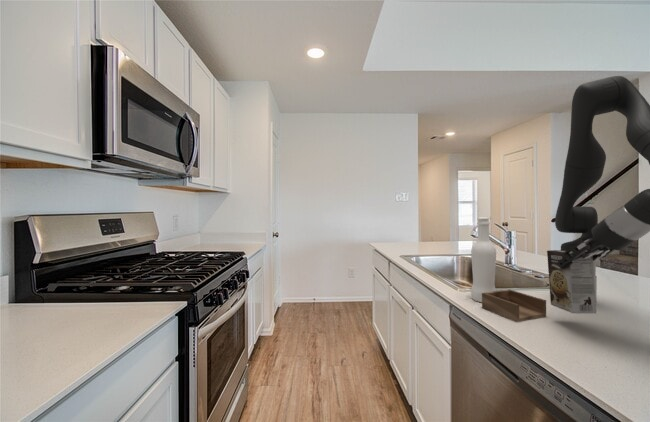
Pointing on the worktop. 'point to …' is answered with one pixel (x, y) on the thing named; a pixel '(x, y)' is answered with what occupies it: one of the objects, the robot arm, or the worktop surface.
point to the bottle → (483, 262)
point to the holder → (514, 305)
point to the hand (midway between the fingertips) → (570, 265)
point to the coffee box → (571, 284)
